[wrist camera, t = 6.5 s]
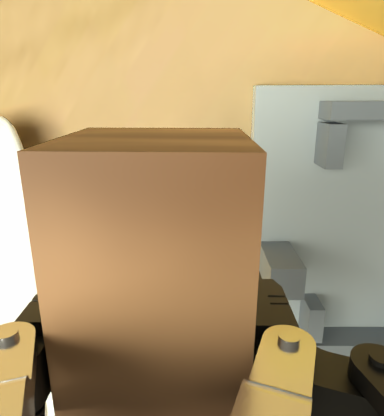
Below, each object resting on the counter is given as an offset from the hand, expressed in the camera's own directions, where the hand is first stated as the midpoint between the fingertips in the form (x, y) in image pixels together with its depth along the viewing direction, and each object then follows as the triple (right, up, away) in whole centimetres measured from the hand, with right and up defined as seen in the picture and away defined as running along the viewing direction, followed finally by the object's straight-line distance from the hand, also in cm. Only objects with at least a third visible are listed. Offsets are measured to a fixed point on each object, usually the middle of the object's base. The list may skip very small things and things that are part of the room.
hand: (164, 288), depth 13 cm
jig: (+15, +1, +17) cm, 22 cm away
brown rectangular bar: (0, -2, +2) cm, 3 cm away
